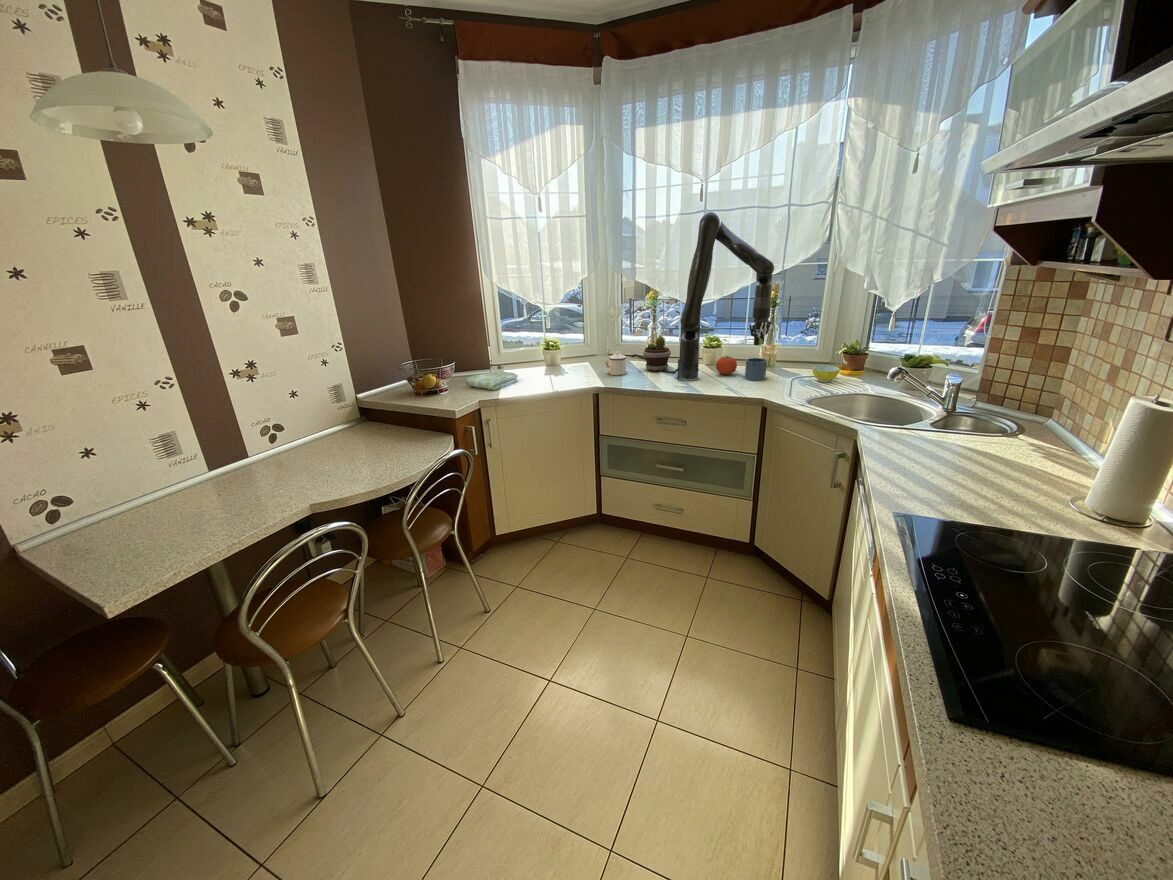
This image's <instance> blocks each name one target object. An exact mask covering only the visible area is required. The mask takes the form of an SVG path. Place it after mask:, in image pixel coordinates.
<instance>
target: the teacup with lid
mask: <svg viewBox="0 0 1173 880" xmlns="http://www.w3.org/2000/svg"><path fill="white" fill-rule="evenodd" d="M608 362H609V363H608ZM605 366H606V368H608V369H609V374H610V376H624V375H626V374H627V356H626V355H624V354H622V353H620V351H615V353H613V354H612V355H610V356H609V357H608V359H606V360H605Z"/></svg>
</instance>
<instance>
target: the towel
mask: <svg viewBox="0 0 1173 880" xmlns="http://www.w3.org/2000/svg"><path fill="white" fill-rule="evenodd" d="M518 377H519V375H518V374H517V373H515V372H510V371H504V370H503V371H502V370H501V371H499V370H498V371H494V370H493V371H488V372H485V373H479V374H475V375H471V376H469V377H467V378H466V379H465V384H466V385H467V386H469V387H472V388H473V387H474V388H478V389H485V390H490V391H495V390H499V389H501V388H504V387H506V386H509V385H513V384H514V383H517V382H518V380H519V379H518Z"/></svg>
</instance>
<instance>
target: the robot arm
mask: <svg viewBox="0 0 1173 880" xmlns="http://www.w3.org/2000/svg"><path fill="white" fill-rule="evenodd" d="M716 241H718V242H719V244H722V245H723V246H724V247H725V248H727V250H728V251H730V253H732V254H733V255H734V256H735V257H736V258H738V260H740V261H741V262H742V263H744V264H745V265H747V266H748V267H750V268H751V269H752V270H753V271H754V272H755V273H756V274H755V276H756V278H755V280H756V281H755V288H754V298H753V304H752V305H753V306H752V318H753V323H750V324H749V325H748V327H749V331H750V336H751V337H753V346H760V345H759V338H761V339H762V340H763V343H762V344H761V345H764V343H765V337H766V335H768V334H769V332H770V328H771V325H772V321H770V320H768V318H770V317H771V309H772V291H773V286H772V285H773V284H772V281H773V273H774V271H775V264H774V262H773V261H771V259H768V258H767V257H766V256H764V255H763V254H761V253H760V252H759V251H758V250H757V249H756V248H755V247H754V246H753V245H751V244H750V243H748V241H746V240H744V239H743V238H741V237H740V236H739V235H737V234H736V233H734V232H733V231H731V229H730V228H729V227H728V226H726V225H725V224H724V222H723V221H722V220H721V217H720V216H719V215H718V213H716V212H714V211H709V212H705V213H704V214H703V215H702V216H701V217H700V218H699V221H698V233H697V242H696V247H695V250H694V252H693V257H692V259H691V264H690V268H689V274H688V281H687V289H686V300H685V304H684V307H683V311H682V313H681V316H680V318H679V319H680V320H679V321H680V323H679V324H680V335H679V336H680V337H679V359H678V360H677V368H676V369H675V370H667V369H666V370H662V371H661V372H663V373H667V374H668V373H669V374H676V373H677V379H679V380H680V381H687V382H688V381H689V382H692V381H697V380H698V379H699V371H700V370H699V363H700V342H701V341H700V338H701V311H702V305H703V302H704V301H703V300H704V297H705V295H706V292H707V289H708V285H709V281H710V277H711V272H712V266H713V257H714V255H713V254H714V247H715V242H716ZM633 355H634V356H633ZM633 357H638V358H640V359H644V360H646V359H645V356H643V355H642V356H641V355H639V354H637V353H633V354H632V355H631V358H633Z"/></svg>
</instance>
